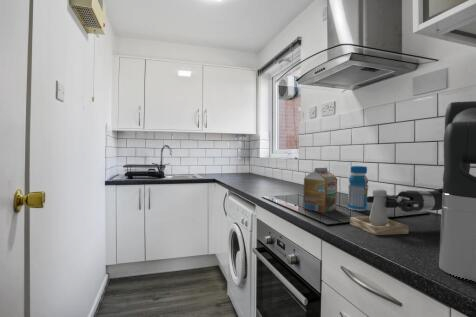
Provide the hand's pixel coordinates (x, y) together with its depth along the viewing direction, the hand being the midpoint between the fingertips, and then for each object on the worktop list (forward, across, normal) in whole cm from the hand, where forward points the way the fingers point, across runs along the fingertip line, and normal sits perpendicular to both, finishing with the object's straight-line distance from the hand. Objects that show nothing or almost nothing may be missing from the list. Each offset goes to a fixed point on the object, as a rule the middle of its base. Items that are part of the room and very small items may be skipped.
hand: (376, 201), depth 88 cm
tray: (-1, 0, +9) cm, 9 cm away
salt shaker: (-1, 0, +9) cm, 9 cm away
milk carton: (+4, -30, +10) cm, 32 cm away
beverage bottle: (-14, -28, +10) cm, 33 cm away
